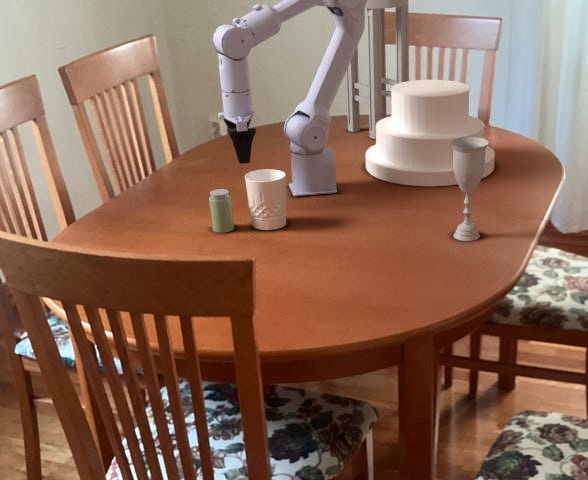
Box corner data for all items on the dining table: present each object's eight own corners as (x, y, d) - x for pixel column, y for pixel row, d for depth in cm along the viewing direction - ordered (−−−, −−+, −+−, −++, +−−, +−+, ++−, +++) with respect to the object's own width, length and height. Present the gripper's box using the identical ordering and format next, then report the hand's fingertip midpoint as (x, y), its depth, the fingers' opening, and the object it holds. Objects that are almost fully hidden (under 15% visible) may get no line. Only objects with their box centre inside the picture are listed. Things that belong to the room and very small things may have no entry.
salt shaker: (233, 224, 183) (229, 187, 179) (235, 231, 179) (231, 194, 175) (211, 226, 182) (207, 189, 178) (213, 233, 179) (208, 196, 175)
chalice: (473, 245, 172) (476, 150, 163) (441, 238, 175) (443, 144, 166) (491, 233, 177) (495, 140, 168) (460, 226, 181) (462, 135, 171)
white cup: (297, 222, 184) (293, 173, 178) (272, 234, 178) (268, 184, 173) (266, 215, 187) (262, 166, 182) (241, 227, 182) (236, 177, 176)
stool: (382, 120, 251) (380, -20, 233) (419, 131, 241) (420, -14, 223) (337, 130, 242) (331, -14, 224) (373, 142, 232) (370, -8, 214)
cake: (512, 179, 205) (517, 98, 196) (382, 191, 199) (380, 108, 190) (471, 143, 230) (473, 70, 221) (354, 153, 224) (351, 77, 215)
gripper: (213, 83, 188) (220, 149, 195) (218, 99, 176) (225, 169, 183) (247, 81, 189) (253, 146, 196) (255, 97, 177) (261, 166, 184)
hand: (242, 157), depth 190 cm, fingers open, 7 cm apart
